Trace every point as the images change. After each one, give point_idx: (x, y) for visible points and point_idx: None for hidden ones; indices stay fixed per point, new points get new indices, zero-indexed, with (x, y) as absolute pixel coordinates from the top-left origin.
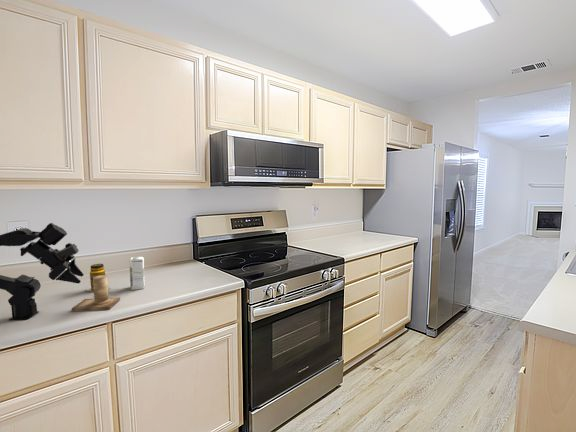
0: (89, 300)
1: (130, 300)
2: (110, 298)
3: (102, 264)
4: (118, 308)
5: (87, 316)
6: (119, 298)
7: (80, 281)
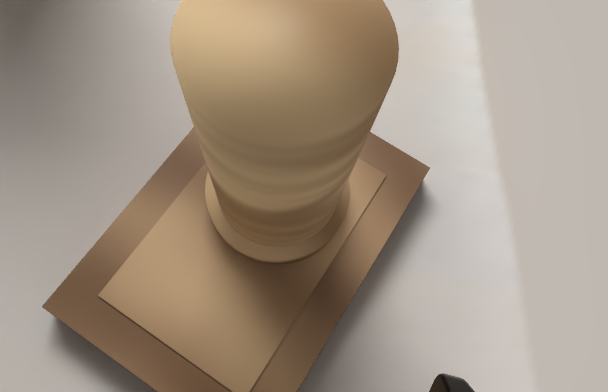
0: (137, 276)
1: None
2: None
3: None
4: (435, 126)
5: (480, 348)
6: None
7: (462, 379)
